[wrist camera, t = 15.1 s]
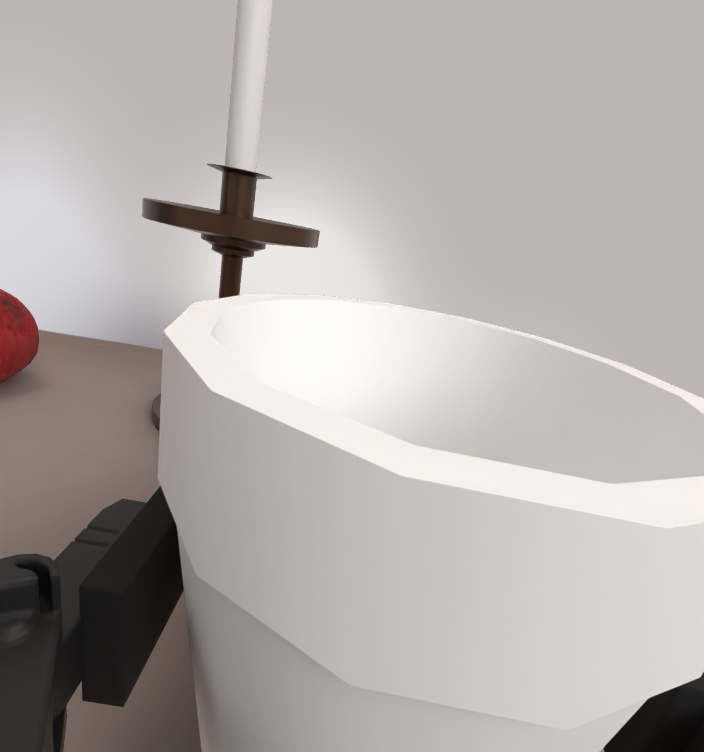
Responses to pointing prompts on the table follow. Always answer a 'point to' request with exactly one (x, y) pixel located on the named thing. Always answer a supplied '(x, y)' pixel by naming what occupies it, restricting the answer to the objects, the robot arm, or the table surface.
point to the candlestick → (237, 168)
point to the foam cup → (424, 529)
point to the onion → (16, 336)
